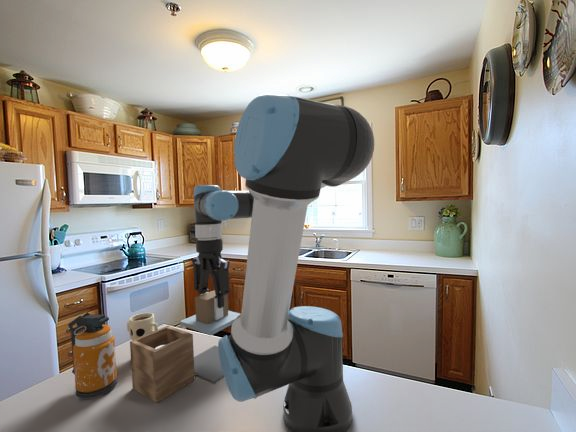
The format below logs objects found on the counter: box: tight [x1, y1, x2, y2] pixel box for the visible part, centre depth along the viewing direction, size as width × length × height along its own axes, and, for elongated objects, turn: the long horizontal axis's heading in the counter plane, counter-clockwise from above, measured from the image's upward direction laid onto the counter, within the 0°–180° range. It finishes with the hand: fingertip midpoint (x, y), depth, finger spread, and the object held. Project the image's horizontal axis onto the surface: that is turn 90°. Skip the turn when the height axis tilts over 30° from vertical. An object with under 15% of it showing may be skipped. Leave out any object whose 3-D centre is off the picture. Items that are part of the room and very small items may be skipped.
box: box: [129, 325, 196, 404], centre depth 78 cm, size 11×11×12 cm
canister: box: [67, 312, 118, 400], centre depth 76 cm, size 9×11×20 cm
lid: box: [179, 289, 241, 336], centre depth 87 cm, size 13×13×9 cm
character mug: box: [126, 312, 159, 341], centre depth 92 cm, size 11×7×13 cm, turn 77°
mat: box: [194, 345, 224, 384], centre depth 87 cm, size 15×14×1 cm
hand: (212, 316), depth 87 cm, fingers closed on lid, 5 cm apart
